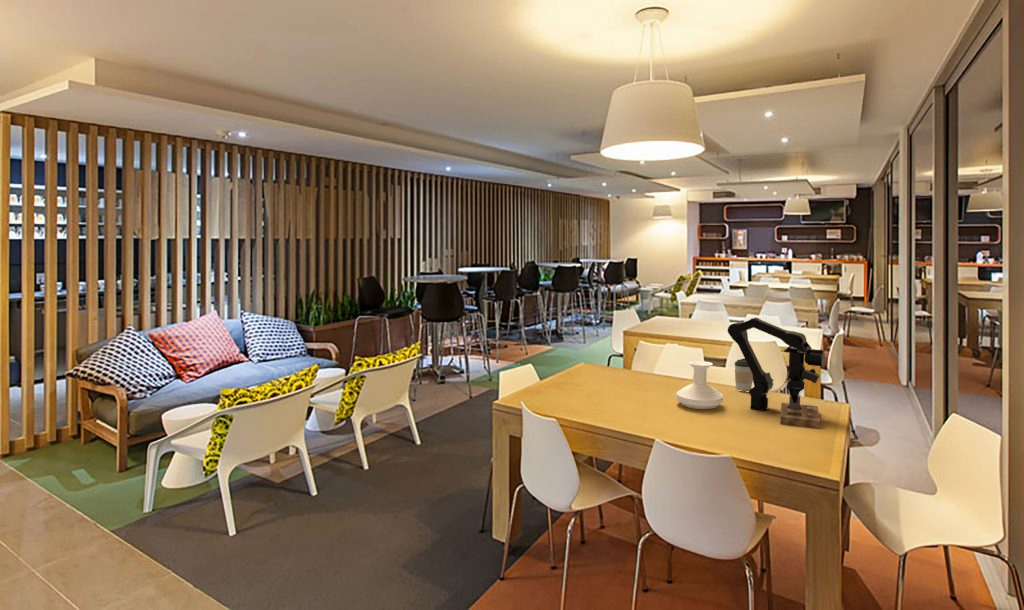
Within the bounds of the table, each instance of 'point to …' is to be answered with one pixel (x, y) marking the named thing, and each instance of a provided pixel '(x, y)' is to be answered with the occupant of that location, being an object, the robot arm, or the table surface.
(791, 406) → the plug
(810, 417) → the socket board
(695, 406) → the candle holder
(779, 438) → the table surface
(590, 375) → the table surface
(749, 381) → the coffee cup
